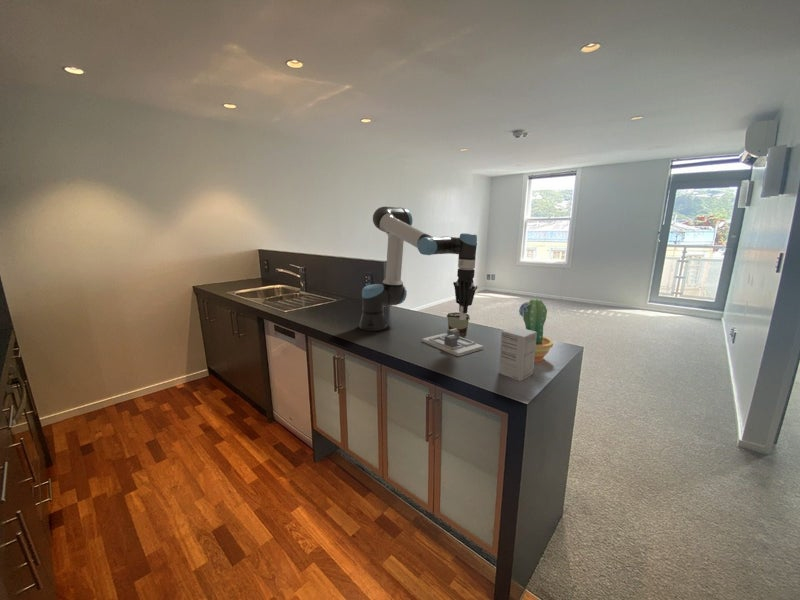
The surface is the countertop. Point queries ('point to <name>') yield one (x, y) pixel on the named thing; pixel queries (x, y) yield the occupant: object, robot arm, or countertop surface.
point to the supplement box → (517, 353)
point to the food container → (458, 322)
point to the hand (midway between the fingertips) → (462, 319)
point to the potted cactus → (536, 326)
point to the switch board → (461, 349)
